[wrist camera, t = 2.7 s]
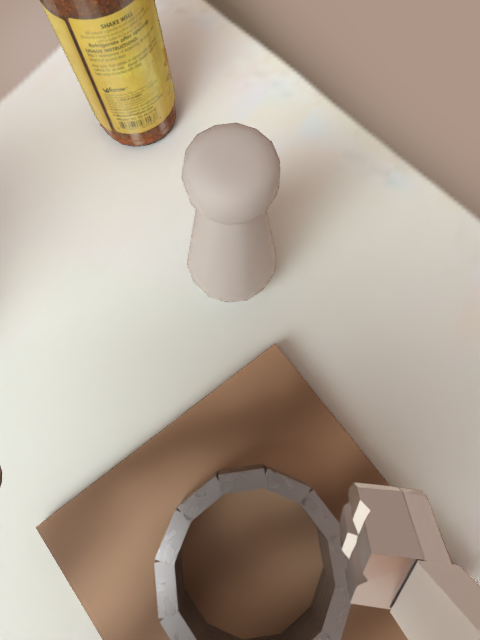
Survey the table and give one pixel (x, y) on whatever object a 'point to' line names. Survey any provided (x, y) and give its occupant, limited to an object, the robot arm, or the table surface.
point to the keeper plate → (218, 514)
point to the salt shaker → (231, 210)
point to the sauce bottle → (118, 64)
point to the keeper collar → (331, 593)
